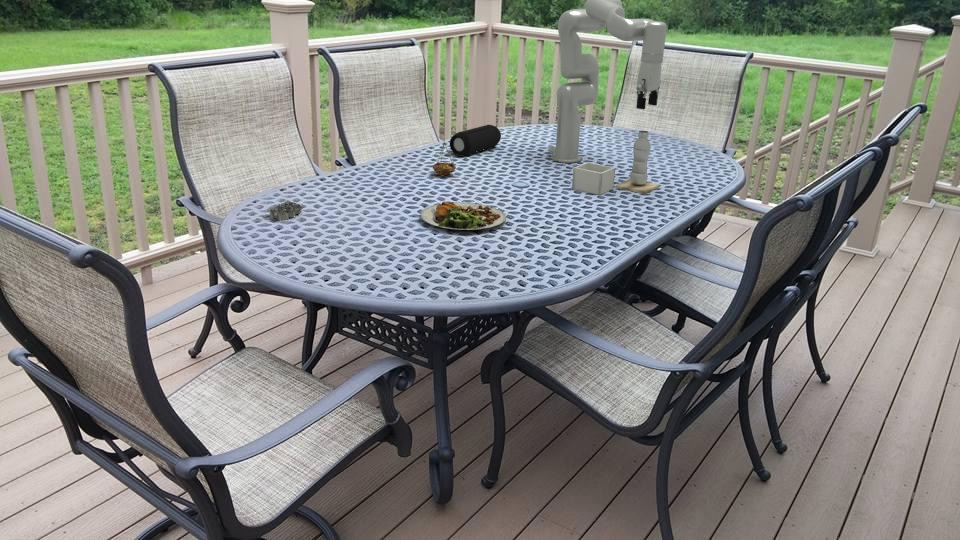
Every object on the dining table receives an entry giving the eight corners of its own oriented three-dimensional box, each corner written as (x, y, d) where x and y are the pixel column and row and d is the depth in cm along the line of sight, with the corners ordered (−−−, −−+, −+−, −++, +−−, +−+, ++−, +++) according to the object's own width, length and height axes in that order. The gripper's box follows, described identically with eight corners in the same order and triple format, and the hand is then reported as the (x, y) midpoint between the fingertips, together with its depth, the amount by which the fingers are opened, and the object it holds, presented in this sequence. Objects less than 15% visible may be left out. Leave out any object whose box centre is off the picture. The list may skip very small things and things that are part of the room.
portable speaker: (484, 144, 353) (485, 122, 349) (502, 148, 347) (503, 125, 343) (447, 155, 334) (448, 131, 330) (466, 159, 328) (466, 135, 324)
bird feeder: (428, 176, 303) (429, 97, 291) (438, 170, 310) (439, 93, 299) (449, 179, 300) (451, 99, 288) (459, 173, 307) (460, 95, 296)
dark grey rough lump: (283, 223, 250) (282, 210, 249) (265, 218, 254) (264, 206, 252) (306, 214, 259) (305, 202, 257) (288, 209, 262) (288, 198, 261)
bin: (571, 188, 294) (573, 167, 290) (585, 182, 302) (587, 162, 298) (599, 195, 287) (601, 173, 284) (613, 188, 295) (615, 167, 292)
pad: (615, 187, 296) (616, 185, 296) (630, 180, 305) (630, 178, 305) (645, 194, 290) (645, 191, 290) (659, 187, 299) (659, 184, 299)
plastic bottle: (645, 182, 301) (651, 130, 293) (647, 187, 294) (653, 134, 287) (628, 181, 301) (634, 129, 293) (629, 186, 295) (635, 133, 287)
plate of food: (463, 242, 239) (464, 222, 237) (402, 219, 256) (402, 200, 254) (523, 224, 259) (524, 206, 257) (462, 203, 276) (463, 186, 274)
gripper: (652, 54, 288) (647, 102, 295) (631, 59, 275) (626, 108, 282) (672, 57, 284) (666, 105, 291) (651, 61, 271) (645, 111, 278)
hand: (646, 106), depth 286 cm, fingers open, 9 cm apart
